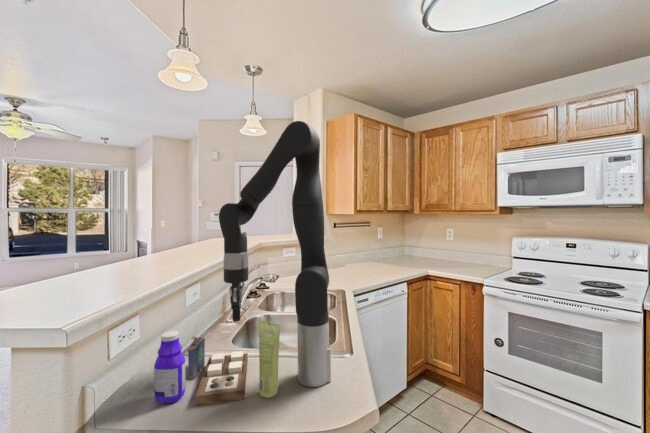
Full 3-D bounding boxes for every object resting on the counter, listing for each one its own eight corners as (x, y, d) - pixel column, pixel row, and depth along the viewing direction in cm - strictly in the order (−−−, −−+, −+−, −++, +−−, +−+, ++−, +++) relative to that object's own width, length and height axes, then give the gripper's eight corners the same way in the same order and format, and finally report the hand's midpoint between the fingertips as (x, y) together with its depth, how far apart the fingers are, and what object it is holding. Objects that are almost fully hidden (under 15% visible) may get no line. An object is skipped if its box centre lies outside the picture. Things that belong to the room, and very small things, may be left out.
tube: (279, 385, 82) (278, 317, 82) (281, 396, 77) (280, 324, 77) (258, 388, 81) (258, 319, 80) (259, 400, 76) (258, 326, 75)
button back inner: (243, 358, 94) (243, 350, 94) (242, 364, 91) (242, 356, 91) (231, 359, 94) (231, 352, 94) (230, 365, 90) (230, 357, 90)
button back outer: (224, 360, 93) (224, 352, 93) (223, 366, 90) (223, 358, 90) (212, 361, 92) (212, 354, 92) (211, 367, 89) (210, 359, 89)
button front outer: (222, 371, 87) (222, 363, 87) (220, 378, 83) (220, 369, 83) (209, 372, 86) (209, 364, 86) (207, 379, 83) (207, 371, 82)
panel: (247, 360, 96) (247, 352, 96) (244, 398, 76) (244, 387, 76) (209, 365, 93) (209, 356, 93) (195, 405, 74) (195, 394, 74)
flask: (195, 379, 85) (194, 343, 85) (185, 379, 85) (184, 343, 85) (206, 363, 95) (205, 330, 94) (197, 363, 94) (196, 331, 94)
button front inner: (242, 368, 88) (242, 360, 88) (241, 375, 85) (241, 367, 85) (229, 370, 87) (229, 362, 87) (228, 377, 84) (228, 368, 84)
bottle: (189, 391, 80) (188, 328, 79) (179, 404, 74) (178, 337, 74) (162, 391, 80) (161, 329, 79) (150, 405, 74) (149, 338, 74)
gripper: (247, 269, 86) (248, 327, 86) (249, 262, 99) (249, 312, 99) (220, 271, 84) (221, 329, 85) (226, 263, 97) (226, 314, 98)
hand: (236, 320), depth 92 cm, fingers closed
